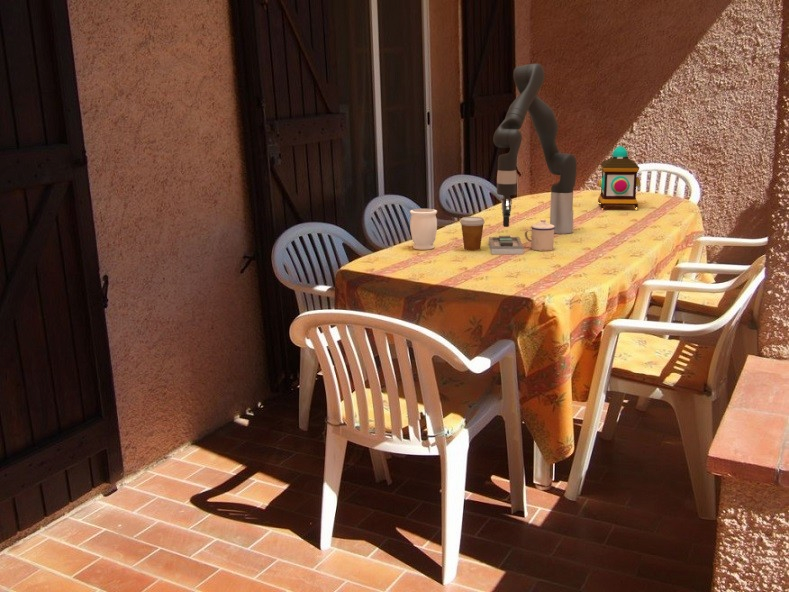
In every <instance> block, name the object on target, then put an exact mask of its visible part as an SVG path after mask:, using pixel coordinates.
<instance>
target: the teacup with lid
mask: <svg viewBox="0 0 789 592" xmlns="http://www.w3.org/2000/svg"><path fill="white" fill-rule="evenodd" d="M554 229H555V226H554V225H552V224H550V222H548V221H547V220H546V218H542V219H540V221H538V222H536V223H534V224H532V225H531V226H530V228H529V229H526V230H525V231H524V237H525V240H526V241H527V242H529V243H530V249H531V250H533V251H537V250H539V251H538V252H548V251H547V250H549V251H552V250H554V246H555V245H554V244H555V241H554V240H555V233H554ZM528 232H531V236H530V238H531V239H530V238H529V237H528Z"/></svg>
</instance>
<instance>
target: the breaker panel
mask: <svg viewBox="0 0 789 592" xmlns="http://www.w3.org/2000/svg"><path fill="white" fill-rule="evenodd" d="M510 237H511V239H512V242H513V246H501V244H500V241H499V236H498V237H497V236H489V237H488V246H489V250H490V253H491V255H523V254H524V245H523V243H522V240H521V238H520V237H519V236H510Z"/></svg>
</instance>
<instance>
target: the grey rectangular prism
mask: <svg viewBox="0 0 789 592" xmlns="http://www.w3.org/2000/svg"><path fill="white" fill-rule="evenodd" d="M498 237H499V241H500V238H511V237H512V236H511V235H499V236H498Z"/></svg>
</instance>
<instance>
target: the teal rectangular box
mask: <svg viewBox="0 0 789 592" xmlns="http://www.w3.org/2000/svg"><path fill="white" fill-rule="evenodd" d="M501 241H512V239H511V238H500V244H501Z"/></svg>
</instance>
